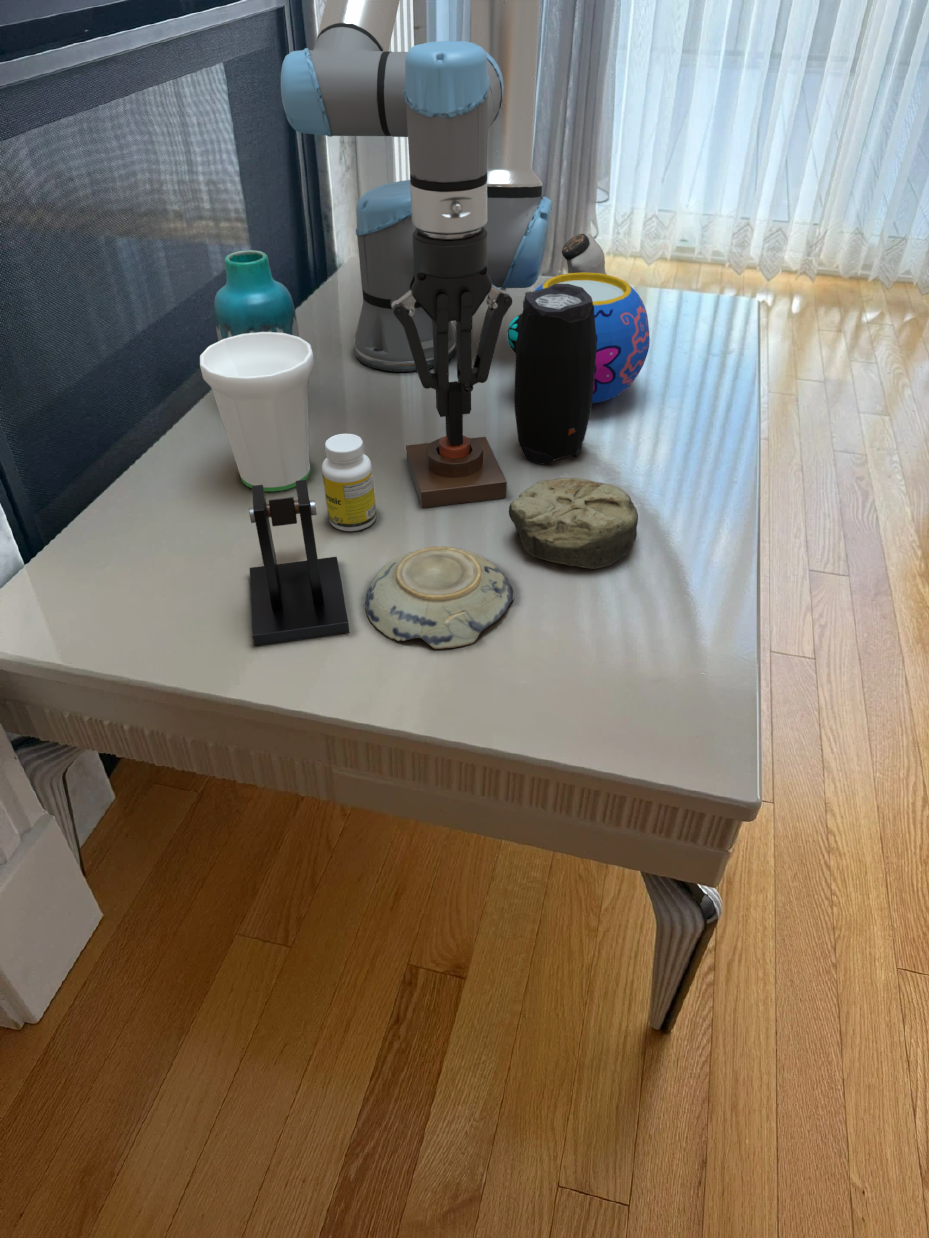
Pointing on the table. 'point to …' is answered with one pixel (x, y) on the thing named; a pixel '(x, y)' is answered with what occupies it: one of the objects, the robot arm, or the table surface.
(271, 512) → the lever
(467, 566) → the decorative bowl
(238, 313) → the vase
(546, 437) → the portable speaker
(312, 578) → the bracket
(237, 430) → the cup
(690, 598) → the table surface
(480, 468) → the button block
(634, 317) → the ceramic pot
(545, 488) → the stone
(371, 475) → the supplement bottle
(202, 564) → the table surface
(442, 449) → the button
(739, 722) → the table surface
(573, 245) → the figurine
